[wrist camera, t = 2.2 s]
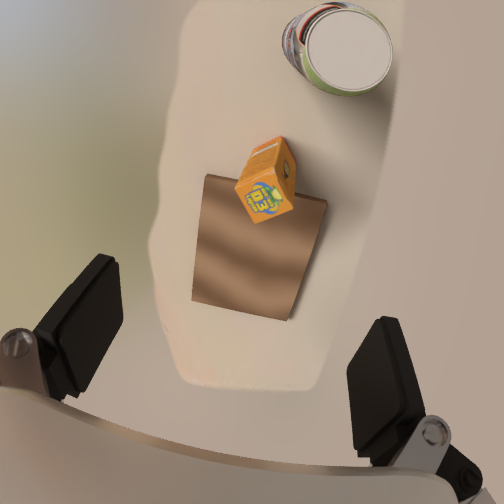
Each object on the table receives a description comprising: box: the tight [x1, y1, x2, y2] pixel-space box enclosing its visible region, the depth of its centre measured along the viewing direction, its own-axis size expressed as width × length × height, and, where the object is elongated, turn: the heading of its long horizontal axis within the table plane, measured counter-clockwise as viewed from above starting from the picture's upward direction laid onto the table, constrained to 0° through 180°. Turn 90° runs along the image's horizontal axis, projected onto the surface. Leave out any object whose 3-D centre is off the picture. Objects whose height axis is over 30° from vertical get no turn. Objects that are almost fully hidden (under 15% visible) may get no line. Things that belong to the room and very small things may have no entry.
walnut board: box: [192, 174, 327, 321], centre depth 34 cm, size 16×12×1 cm
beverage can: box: [282, 2, 393, 96], centre depth 18 cm, size 6×7×12 cm
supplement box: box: [235, 136, 296, 224], centre depth 24 cm, size 3×3×10 cm
